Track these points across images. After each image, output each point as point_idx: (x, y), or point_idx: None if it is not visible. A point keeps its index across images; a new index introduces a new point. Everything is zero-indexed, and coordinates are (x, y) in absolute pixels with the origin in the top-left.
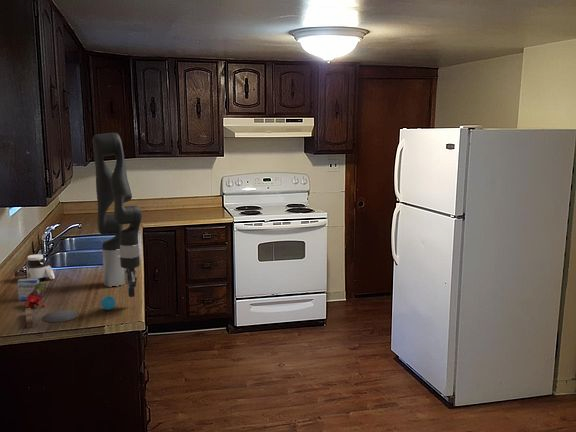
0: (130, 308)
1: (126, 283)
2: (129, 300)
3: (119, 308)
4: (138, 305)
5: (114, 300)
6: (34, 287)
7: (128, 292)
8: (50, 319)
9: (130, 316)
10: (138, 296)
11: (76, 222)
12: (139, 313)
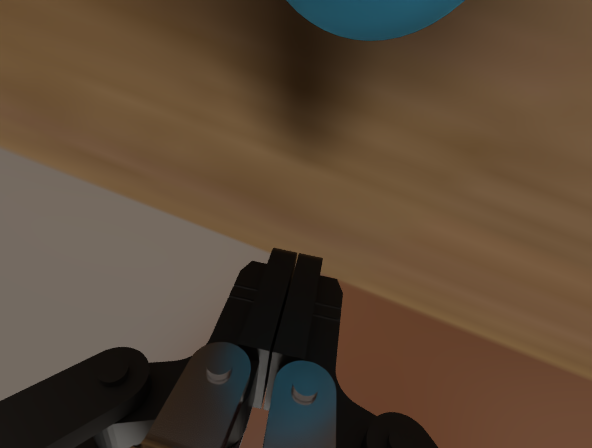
0: (269, 171)
1: (406, 437)
2: (529, 261)
3: (338, 72)
4: None
5: (303, 11)
6: None
7: (299, 289)
8: None
9: (32, 80)
10: (569, 357)
11: None
12: (96, 179)
